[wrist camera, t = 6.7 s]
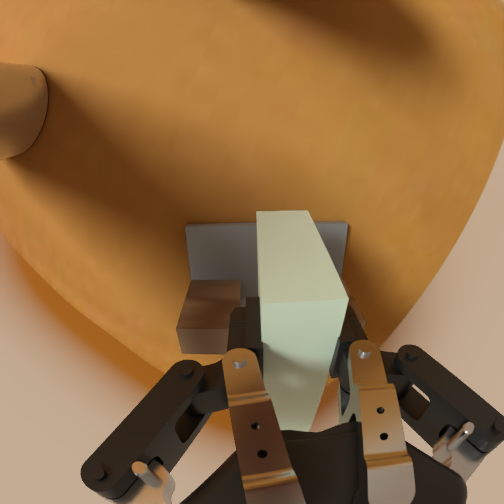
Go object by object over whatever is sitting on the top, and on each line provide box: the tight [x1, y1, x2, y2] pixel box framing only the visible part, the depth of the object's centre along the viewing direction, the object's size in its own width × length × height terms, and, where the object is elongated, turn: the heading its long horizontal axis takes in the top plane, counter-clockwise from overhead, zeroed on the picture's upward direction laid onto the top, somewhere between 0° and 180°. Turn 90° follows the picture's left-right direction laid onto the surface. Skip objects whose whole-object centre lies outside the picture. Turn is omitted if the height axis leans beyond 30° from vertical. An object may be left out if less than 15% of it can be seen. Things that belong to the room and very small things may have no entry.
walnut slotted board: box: [176, 276, 366, 354], centre depth 21 cm, size 13×2×6 cm, turn 91°
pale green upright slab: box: [256, 210, 349, 432], centre depth 16 cm, size 3×14×8 cm, turn 2°
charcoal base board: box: [185, 222, 348, 307], centre depth 24 cm, size 13×12×1 cm
